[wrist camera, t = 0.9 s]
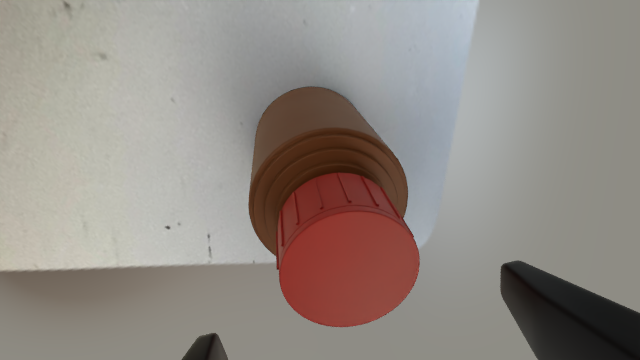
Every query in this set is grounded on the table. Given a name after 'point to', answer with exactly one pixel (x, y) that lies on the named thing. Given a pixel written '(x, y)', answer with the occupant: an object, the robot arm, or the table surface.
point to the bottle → (314, 154)
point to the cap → (344, 251)
